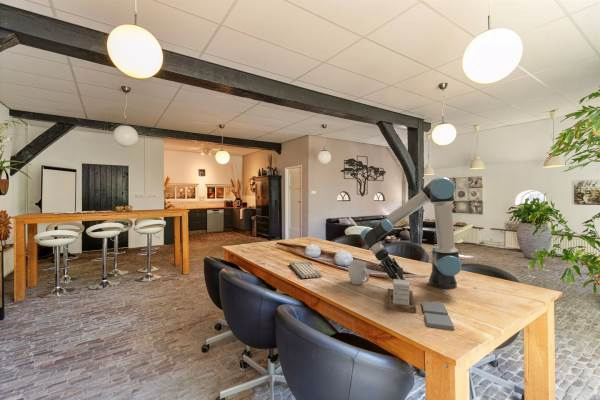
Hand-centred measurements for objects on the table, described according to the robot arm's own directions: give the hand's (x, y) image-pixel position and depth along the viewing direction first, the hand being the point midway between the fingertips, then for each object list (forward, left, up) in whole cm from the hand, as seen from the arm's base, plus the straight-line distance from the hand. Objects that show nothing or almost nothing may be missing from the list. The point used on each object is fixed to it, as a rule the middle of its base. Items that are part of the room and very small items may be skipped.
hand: (406, 286), depth 148 cm
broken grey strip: (-12, +21, -5) cm, 25 cm away
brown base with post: (+3, +7, -5) cm, 9 cm away
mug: (+27, -12, -5) cm, 30 cm away
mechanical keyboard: (+67, -29, -6) cm, 73 cm away
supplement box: (+3, +16, -5) cm, 17 cm away
